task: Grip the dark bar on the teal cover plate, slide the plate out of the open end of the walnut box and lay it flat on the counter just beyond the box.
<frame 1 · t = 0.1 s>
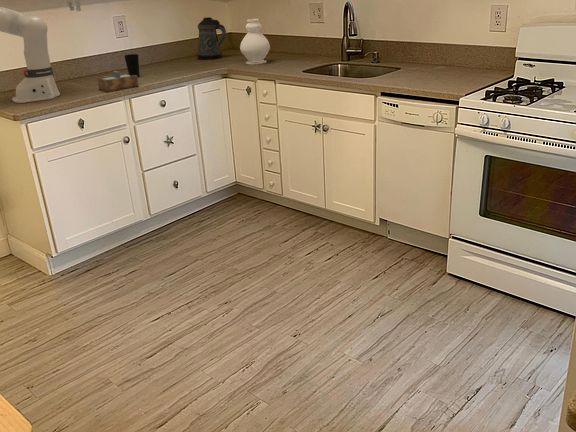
hand: (75, 10, 295), 39 cm above the worktop, tool pointing down, fingers open, 8 cm apart
decorative vase: (256, 62, 360), on the worktop
cover plate: (117, 79, 307), point 4 cm above the worktop, touching walnut box
cup: (134, 77, 337), on the worktop
beer stein: (212, 58, 387), on the worktop
walnut box: (118, 88, 308), on the worktop
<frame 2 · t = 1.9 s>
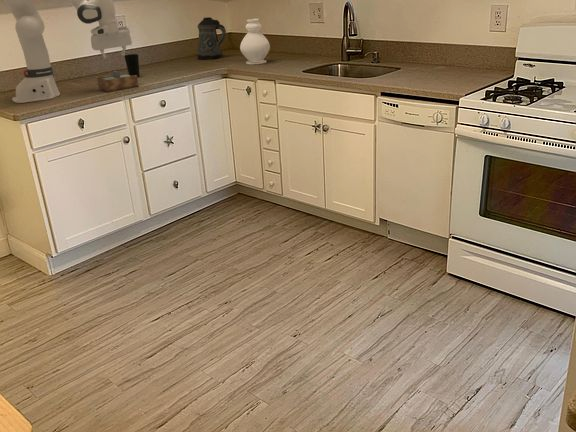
hand: (114, 56, 302), 16 cm above the worktop, tool pointing down, fingers open, 8 cm apart
nothing on the worktop moved.
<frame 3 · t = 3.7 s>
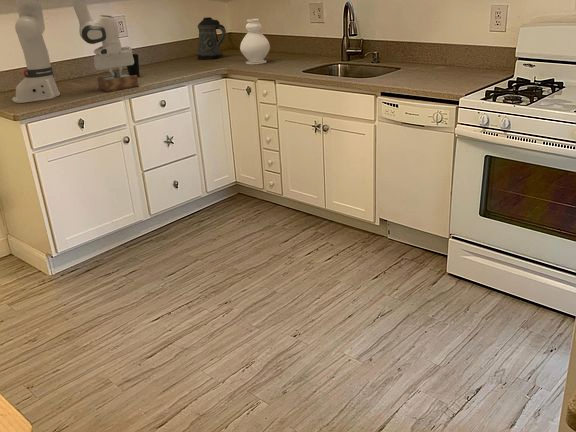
hand: (116, 76, 306), 6 cm above the worktop, tool pointing down, fingers closed on cover plate, 2 cm apart
cover plate: (117, 79, 307), point 4 cm above the worktop, touching gripper, walnut box
everything else where it was.
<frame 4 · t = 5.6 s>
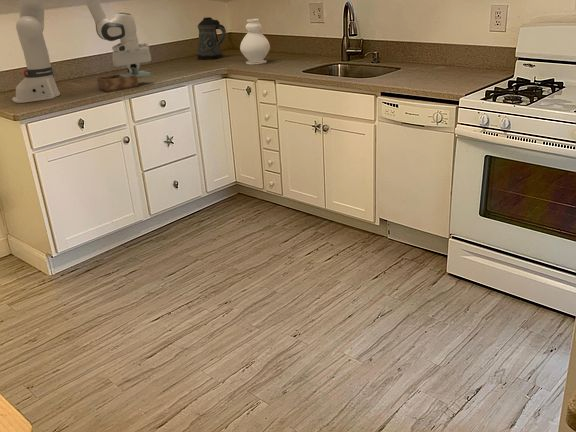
hand: (134, 72, 311), 6 cm above the worktop, tool pointing down, fingers closed on cover plate, 2 cm apart
cover plate: (134, 76, 312), point 5 cm above the worktop, touching gripper
everything else where it was.
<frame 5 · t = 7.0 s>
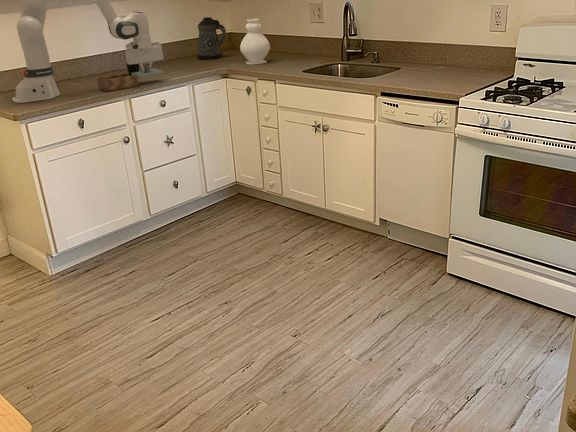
hand: (146, 70, 315), 6 cm above the worktop, tool pointing down, fingers closed on cover plate, 2 cm apart
cover plate: (147, 74, 316), point 5 cm above the worktop, touching gripper
everything else where it was.
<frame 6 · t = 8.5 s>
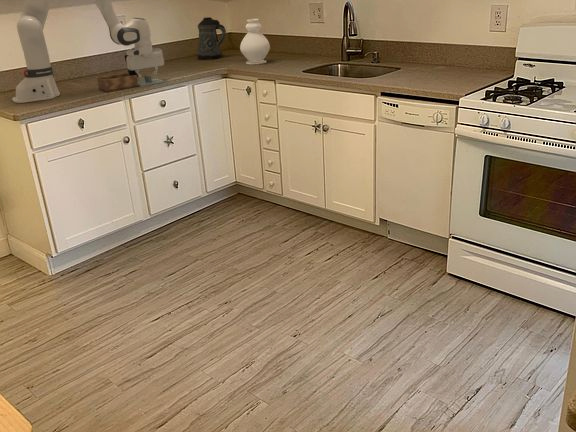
hand: (147, 76, 316), 3 cm above the worktop, tool pointing down, fingers open, 7 cm apart
cover plate: (148, 83, 318), on the worktop
everything else where it was.
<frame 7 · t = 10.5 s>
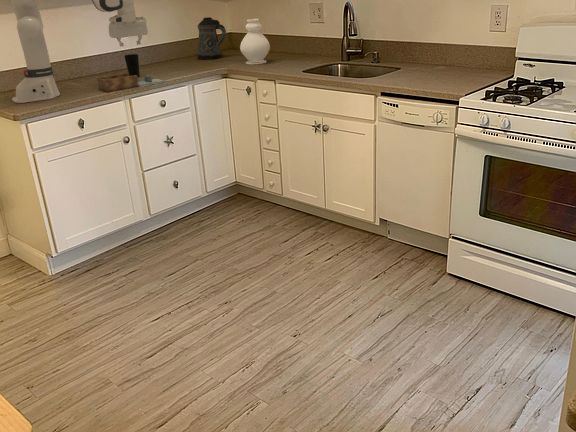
hand: (130, 45, 311), 20 cm above the worktop, tool pointing down, fingers open, 8 cm apart
nothing on the worktop moved.
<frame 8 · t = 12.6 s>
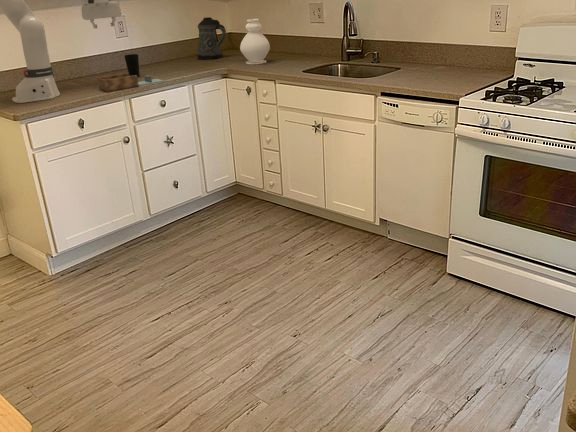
hand: (104, 27, 310), 29 cm above the worktop, tool pointing down, fingers open, 8 cm apart
nothing on the worktop moved.
at the end: cover plate inside the target area (0.5 cm from its centre), on the worktop; cover plate tilted 0°; the gripper is holding nothing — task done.
